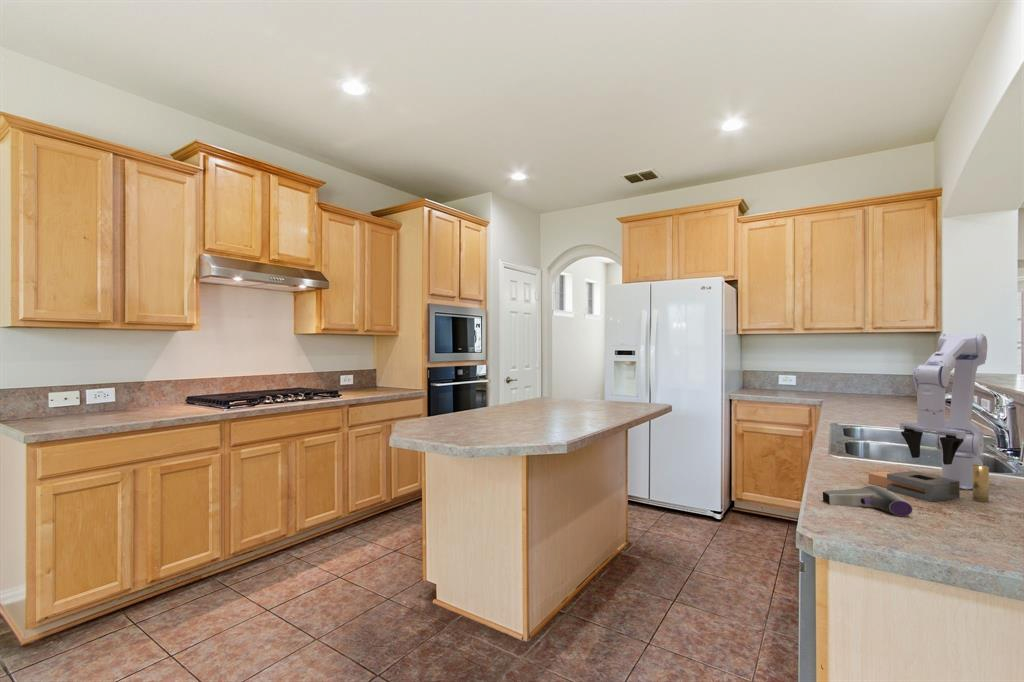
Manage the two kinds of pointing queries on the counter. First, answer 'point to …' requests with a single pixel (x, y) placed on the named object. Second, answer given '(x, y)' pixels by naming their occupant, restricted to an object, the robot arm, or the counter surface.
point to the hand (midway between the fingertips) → (931, 460)
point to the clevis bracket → (925, 486)
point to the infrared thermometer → (869, 499)
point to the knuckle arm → (888, 481)
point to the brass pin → (981, 483)
